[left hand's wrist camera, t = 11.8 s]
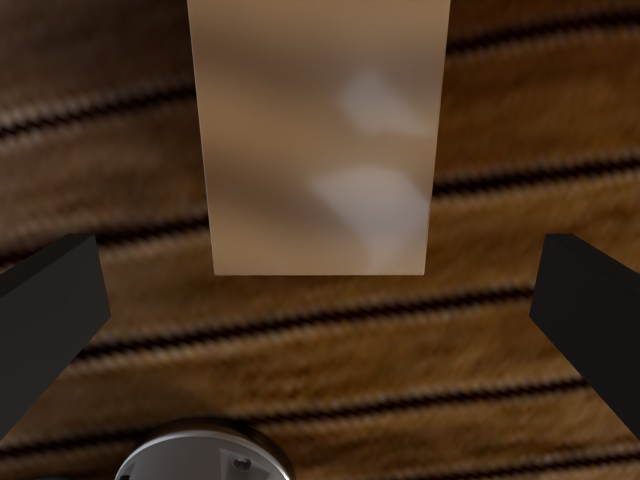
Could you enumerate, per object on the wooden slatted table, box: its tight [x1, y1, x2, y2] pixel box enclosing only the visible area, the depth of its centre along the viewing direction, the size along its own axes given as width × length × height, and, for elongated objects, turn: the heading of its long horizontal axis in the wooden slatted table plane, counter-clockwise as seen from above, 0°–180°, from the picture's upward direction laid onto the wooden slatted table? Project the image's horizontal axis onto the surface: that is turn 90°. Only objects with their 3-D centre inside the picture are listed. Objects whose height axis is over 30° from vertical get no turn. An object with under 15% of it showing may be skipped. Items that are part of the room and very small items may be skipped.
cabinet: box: [187, 0, 450, 275], centre depth 21 cm, size 18×10×9 cm, turn 0°
